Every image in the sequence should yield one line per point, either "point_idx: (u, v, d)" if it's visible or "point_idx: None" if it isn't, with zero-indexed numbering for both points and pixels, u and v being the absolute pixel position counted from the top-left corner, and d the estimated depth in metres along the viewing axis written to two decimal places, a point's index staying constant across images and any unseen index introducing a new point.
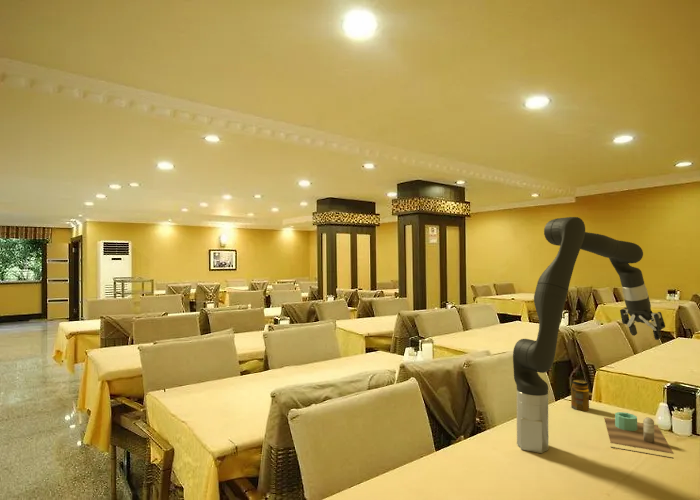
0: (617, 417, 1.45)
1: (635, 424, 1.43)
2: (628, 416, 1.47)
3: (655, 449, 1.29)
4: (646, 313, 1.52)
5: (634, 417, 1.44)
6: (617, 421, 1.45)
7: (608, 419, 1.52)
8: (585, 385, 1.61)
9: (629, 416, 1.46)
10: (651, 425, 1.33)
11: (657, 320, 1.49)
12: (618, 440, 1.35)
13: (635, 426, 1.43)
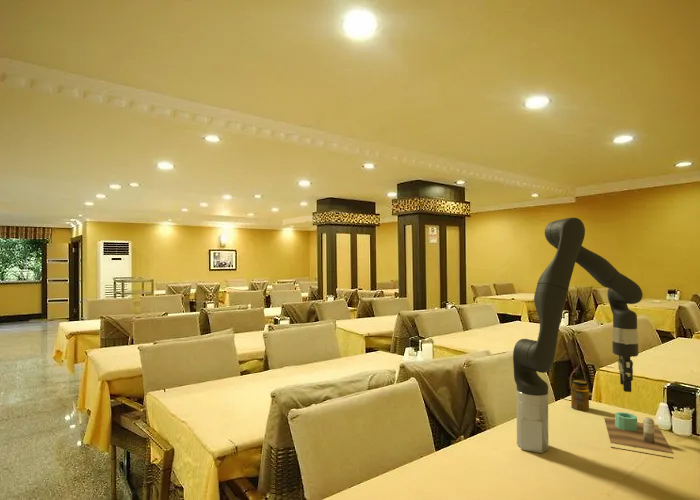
0: (617, 417, 1.45)
1: (635, 424, 1.43)
2: (628, 416, 1.47)
3: (655, 449, 1.29)
4: (622, 359, 1.44)
5: (634, 417, 1.44)
6: (617, 421, 1.45)
7: (608, 419, 1.52)
8: (585, 385, 1.61)
9: (629, 416, 1.46)
10: (651, 425, 1.33)
11: (623, 368, 1.41)
12: (618, 440, 1.35)
13: (635, 426, 1.43)
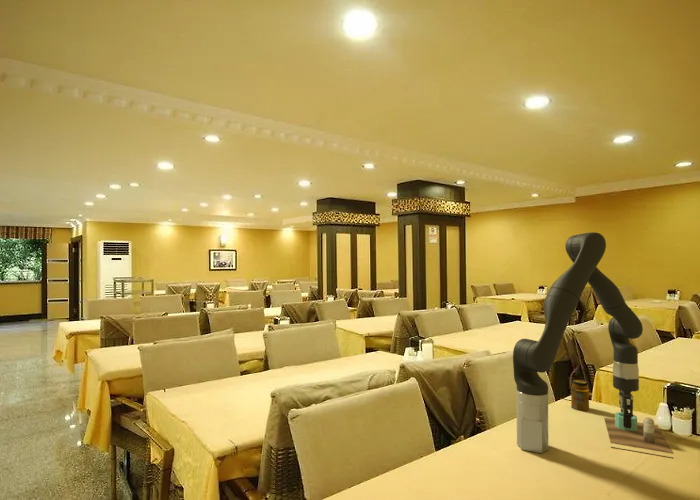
0: (617, 417, 1.45)
1: (635, 424, 1.43)
2: None
3: (655, 449, 1.29)
4: (623, 394, 1.43)
5: (634, 417, 1.44)
6: (617, 421, 1.45)
7: (608, 419, 1.52)
8: (585, 385, 1.61)
9: None
10: (651, 425, 1.33)
11: (624, 405, 1.41)
12: (618, 440, 1.35)
13: (635, 426, 1.43)
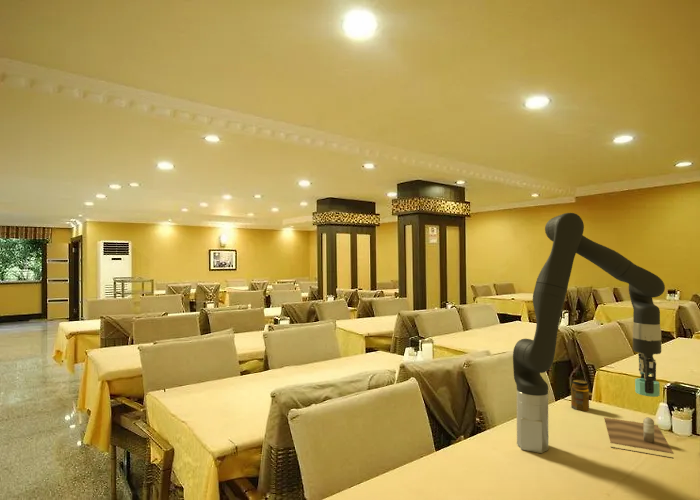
0: (638, 383, 1.35)
1: (657, 389, 1.32)
2: None
3: (655, 449, 1.29)
4: (644, 357, 1.33)
5: (656, 382, 1.33)
6: (638, 387, 1.35)
7: (608, 419, 1.52)
8: (585, 385, 1.61)
9: None
10: (651, 425, 1.33)
11: (646, 368, 1.30)
12: (618, 440, 1.35)
13: (657, 392, 1.32)
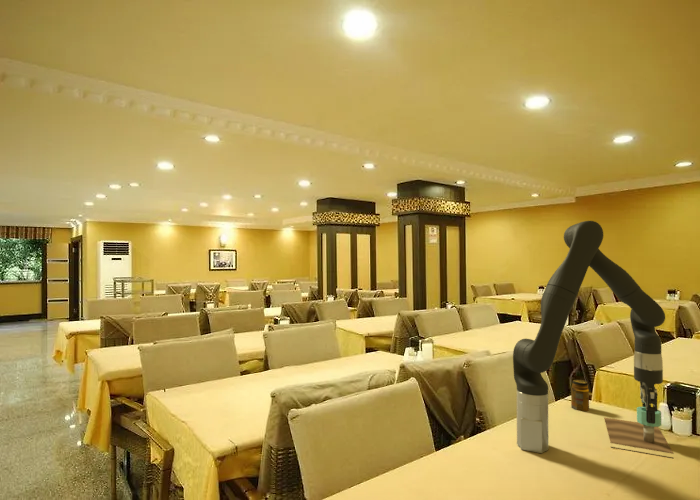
0: (639, 412, 1.34)
1: (659, 419, 1.32)
2: None
3: (655, 449, 1.29)
4: (646, 387, 1.32)
5: (658, 412, 1.33)
6: (639, 416, 1.34)
7: (608, 419, 1.52)
8: (585, 385, 1.61)
9: None
10: None
11: (647, 398, 1.30)
12: (618, 440, 1.35)
13: (659, 421, 1.32)
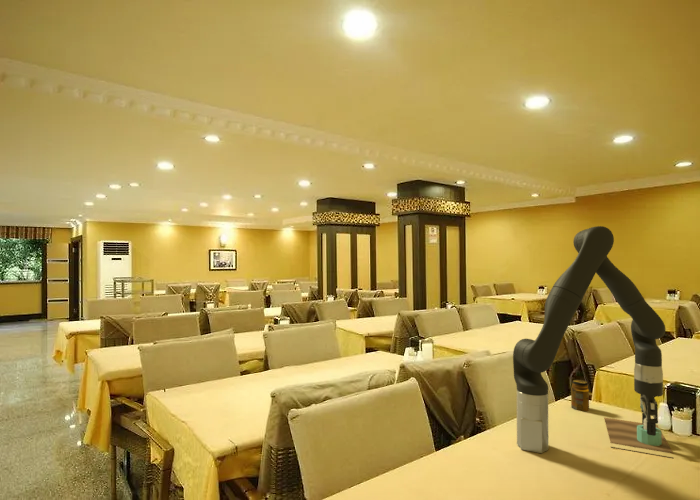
0: (639, 430, 1.34)
1: (659, 438, 1.31)
2: None
3: (655, 449, 1.29)
4: (646, 399, 1.32)
5: (658, 431, 1.32)
6: (639, 435, 1.34)
7: (608, 419, 1.52)
8: (585, 385, 1.61)
9: None
10: None
11: (647, 410, 1.29)
12: (618, 440, 1.35)
13: (659, 440, 1.31)
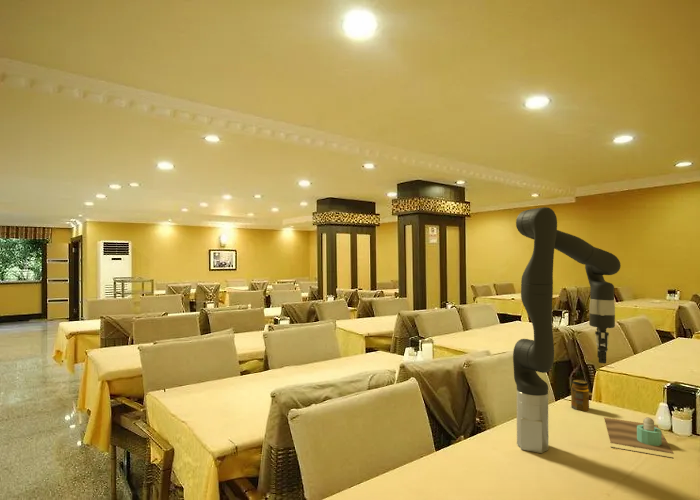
0: (639, 430, 1.34)
1: (659, 438, 1.31)
2: None
3: (655, 449, 1.29)
4: (598, 331, 1.42)
5: (658, 431, 1.32)
6: (639, 435, 1.34)
7: (608, 419, 1.52)
8: (585, 385, 1.61)
9: None
10: (651, 425, 1.33)
11: (598, 339, 1.39)
12: (618, 440, 1.35)
13: (659, 440, 1.31)
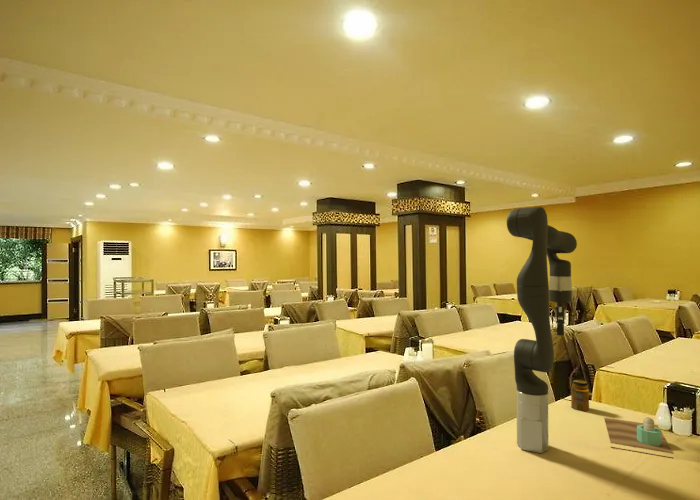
0: (639, 430, 1.34)
1: (659, 438, 1.31)
2: None
3: (655, 449, 1.29)
4: (557, 305, 1.52)
5: (658, 431, 1.32)
6: (639, 435, 1.34)
7: (608, 419, 1.52)
8: (585, 385, 1.61)
9: None
10: (651, 425, 1.33)
11: (556, 313, 1.49)
12: (618, 440, 1.35)
13: (659, 440, 1.31)
